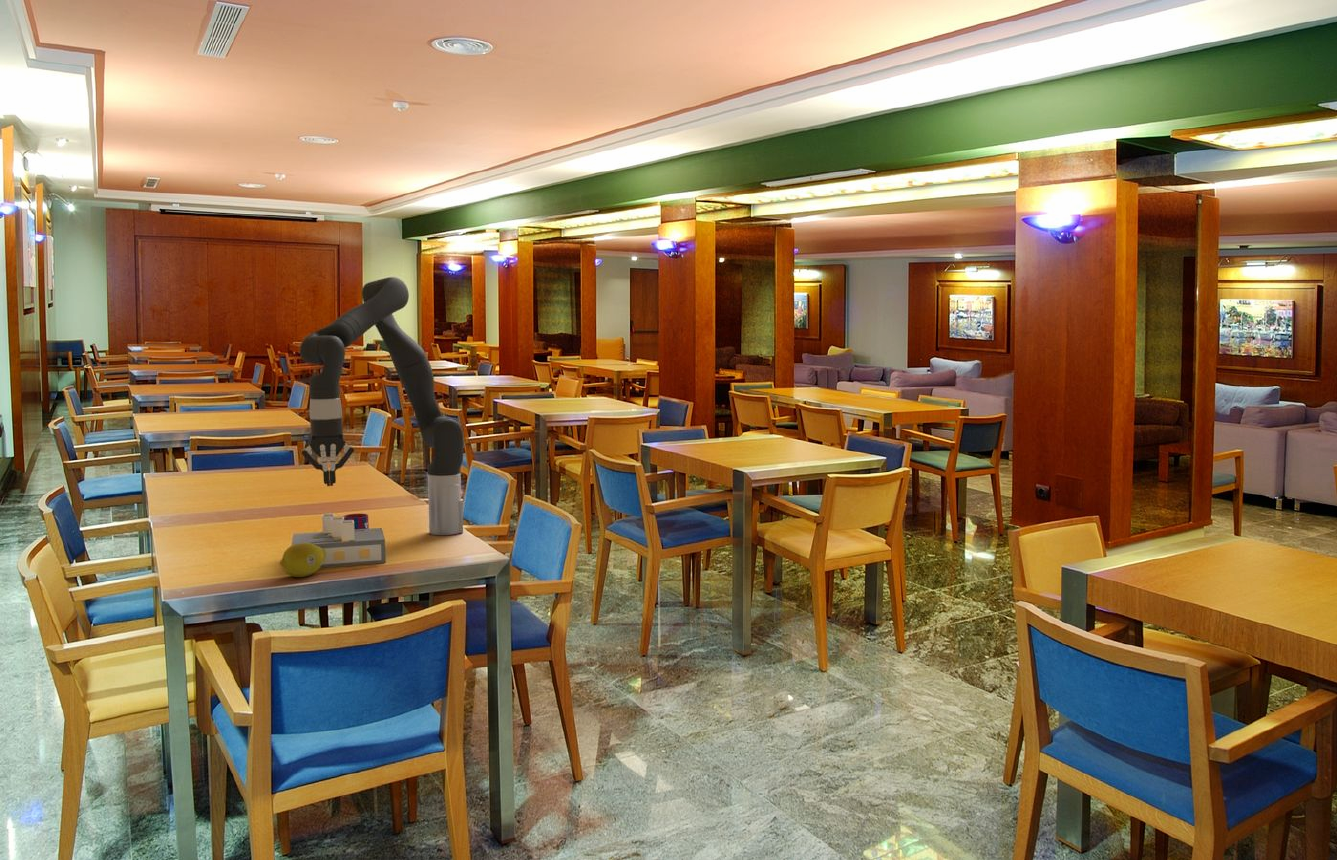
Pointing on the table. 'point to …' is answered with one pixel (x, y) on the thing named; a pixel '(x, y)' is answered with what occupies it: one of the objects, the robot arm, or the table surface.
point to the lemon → (302, 559)
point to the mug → (358, 520)
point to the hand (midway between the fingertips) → (329, 485)
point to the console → (347, 547)
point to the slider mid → (337, 526)
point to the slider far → (327, 522)
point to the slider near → (347, 530)
